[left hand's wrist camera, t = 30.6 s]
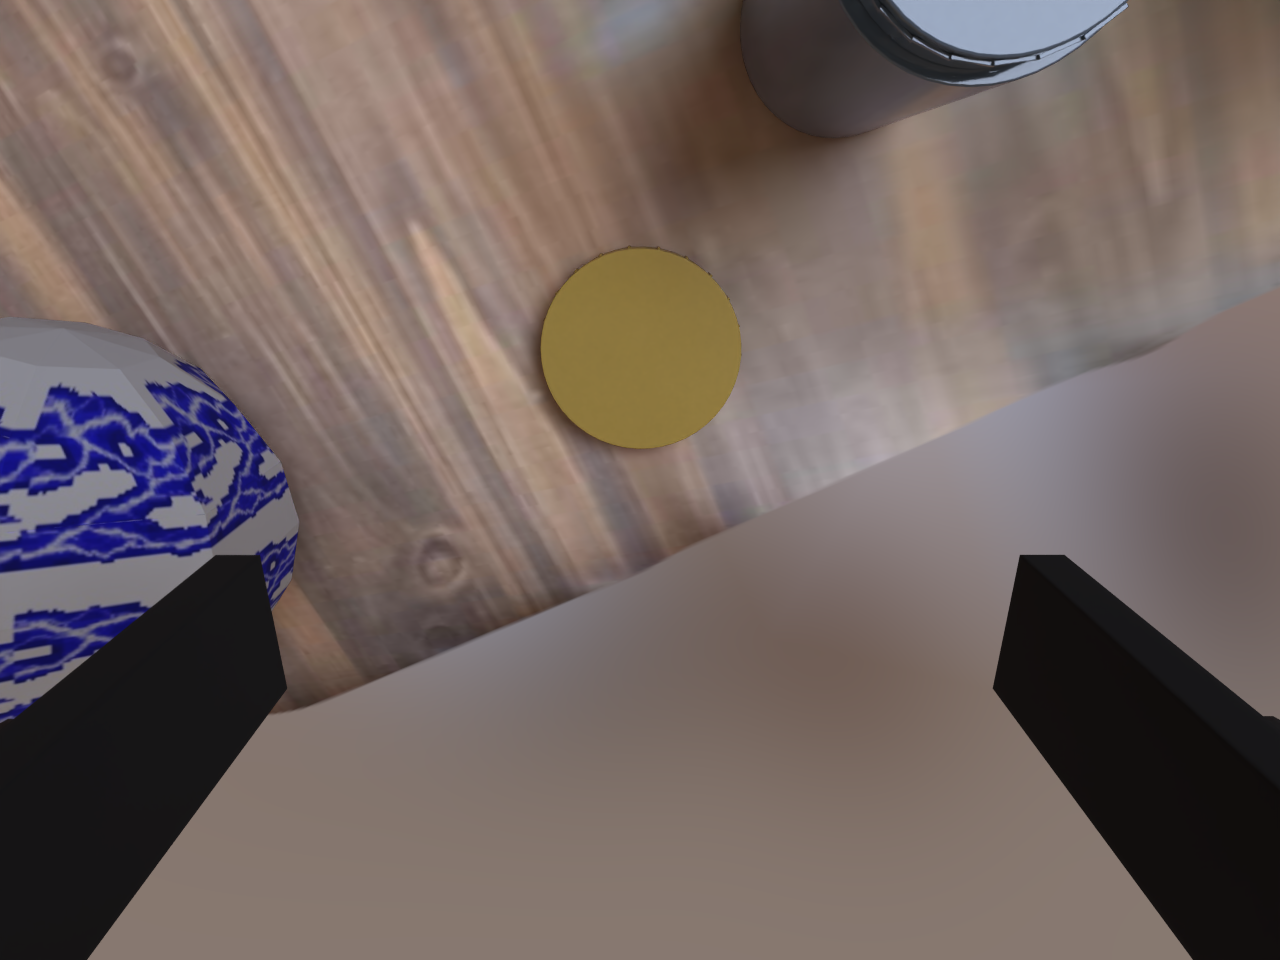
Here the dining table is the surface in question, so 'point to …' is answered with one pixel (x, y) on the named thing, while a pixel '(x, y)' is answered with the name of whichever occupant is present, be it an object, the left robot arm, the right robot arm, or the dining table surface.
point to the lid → (640, 347)
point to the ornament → (116, 493)
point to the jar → (900, 53)
